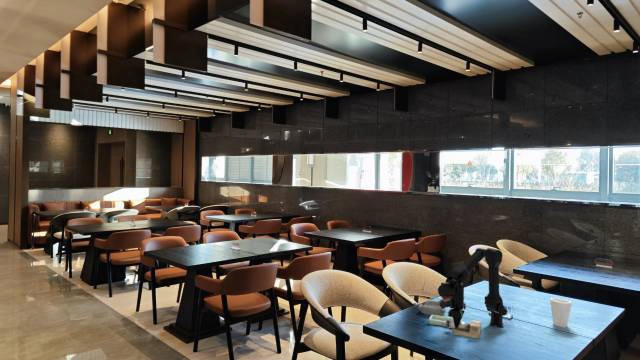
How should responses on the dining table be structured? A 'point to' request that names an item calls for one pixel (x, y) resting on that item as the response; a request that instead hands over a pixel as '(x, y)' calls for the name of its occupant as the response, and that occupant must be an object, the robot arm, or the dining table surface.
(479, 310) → the dining table surface
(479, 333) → the bracket
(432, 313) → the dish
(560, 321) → the foam cup
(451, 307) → the robot arm
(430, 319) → the tray
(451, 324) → the pin
